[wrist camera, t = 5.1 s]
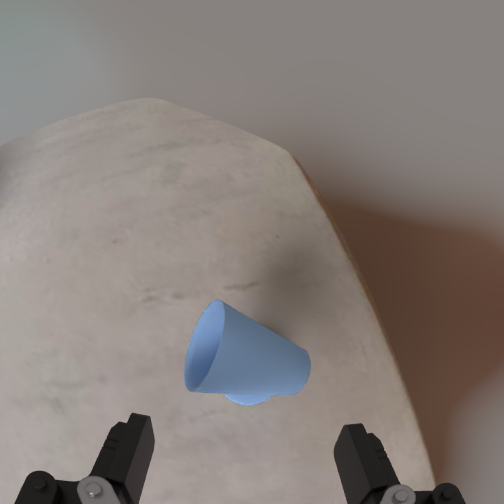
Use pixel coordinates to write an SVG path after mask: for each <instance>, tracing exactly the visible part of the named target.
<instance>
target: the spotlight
mask: <svg viewBox="0 0 504 504" xmlns="http://www.w3.org/2000/svg"><path fill="white" fill-rule="evenodd" d="M310 368H311V362H310V357H309V354H308V353H307V351H306V350H304V349H303V348H301V347H299V346H297V345H296V344H294V343H292V342H290V341H289V340H287V339H285V338H283V337H281V336H280V335H278V334H276V333H275V332H273V331H271V330H269V329H268V328H266V327H264V326H262V325H261V324H259V323H257V322H256V321H254V320H252V319H251V318H249V317H247V316H246V315H244V314H242V313H241V312H239V311H237V310H236V309H234V308H232V307H231V306H229V305H227V304H226V303H224V302H223V301H221V300H219V299H217V300H214V301H213V302H211V303H210V304H209V305H208V307H207V308H206V309H205V311H204V312H203V314H202V315H201V317H200V319H199V321H198V323H197V325H196V327H195V330H194V332H193V335H192V337H191V340H190V344H189V347H188V351H187V355H186V360H185V368H184V381H185V385H186V388H187V389H188V390H189V391H191V392H203V393H217V394H224V395H225V396H226V397H227V398H228V399H230V400H231V401H233V402H235V403H237V404H241V405H243V406H245V405H255V404H259V403H261V402H263V401H265V400H267V399H269V398H270V397H271V396H272V395H293V394H296V393H298V392H299V391H300V390H301V389H302V388H303V387H304V385H305V384H306V382H307V380H308V377H309V374H310Z"/></svg>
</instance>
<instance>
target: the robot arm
mask: <svg viewBox="0 0 504 504" xmlns="http://www.w3.org/2000/svg"><path fill="white" fill-rule="evenodd" d="M154 444H155V439H154V433H153V428H152V423H151V418H150V416H147V415H141V414H137V413H132V414H131V415H130V417H129V420H128V422H127V423H123V422H118V423H117V424H116V425H115V426H113V427H112V428H111V430H110V432H109V434H108V436H107V439H106V440H105V442H104V445H103V447H102V449H101V451H100V453H99V456H98V458H97V460H96V462H95V464H94V467H93V469H92V471H91V473H90V474H89V476H88V477H85V478H83V479H82V480H81V481H75V482H73V481H62V480H55V479H54V477H53V476H52V475H50V474H49V473H47V472H44V471H34V472H32V473H30V474H29V475H28V476H27V478H26V480H25V482H24V484H23V486H22V488H21V490H20V492H19V495H18V497H17V499H16V501H15V503H14V504H139V500H140V496H141V493H142V489H143V486H144V482H145V478H146V475H147V471H148V468H149V464H150V461H151V457H152V454H153V451H154ZM334 459H335V462H336V466H337V469H338V472H339V476H340V479H341V483H342V486H343V490H344V493H345V497H346V500H347V504H466V503H465V501H464V499H463V497H462V495H461V493H460V491H459V489H458V488H457V487H456V486H455V485H453V484H451V483H442V484H440V485H438V486H437V487H436V488H435V489H434V490H433V491H413V490H412V489H411V488H410V487H408V486H406V485H401V484H400V482H399V480H398V478H397V476H396V474H395V471H394V469H393V467H392V465H391V463H390V460H389V458H387V454H386V452H385V451H384V447H383V445H382V443H381V441H380V440H379V439H378V438H377V437H376V436H375V435H374V434H373V433H368V434H367V432H366V430H365V428H364V426H363V424H361V423H359V424H349V425H344V426H343V428H342V430H341V433H340V435H339V437H338V440H337V442H336V444H335V447H334Z"/></svg>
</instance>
